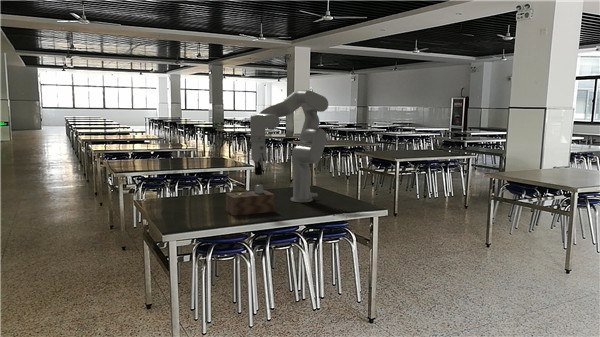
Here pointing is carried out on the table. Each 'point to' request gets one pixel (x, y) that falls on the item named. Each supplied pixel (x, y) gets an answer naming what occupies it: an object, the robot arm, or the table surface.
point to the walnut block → (249, 203)
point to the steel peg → (258, 189)
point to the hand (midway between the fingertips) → (258, 174)
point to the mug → (238, 191)
